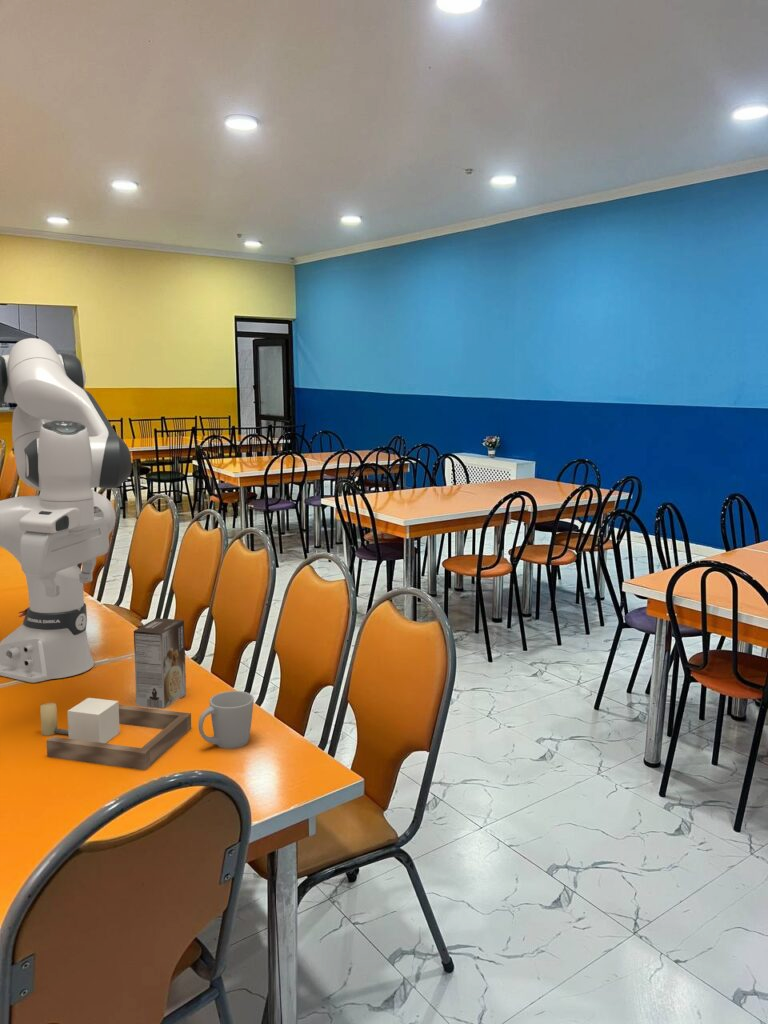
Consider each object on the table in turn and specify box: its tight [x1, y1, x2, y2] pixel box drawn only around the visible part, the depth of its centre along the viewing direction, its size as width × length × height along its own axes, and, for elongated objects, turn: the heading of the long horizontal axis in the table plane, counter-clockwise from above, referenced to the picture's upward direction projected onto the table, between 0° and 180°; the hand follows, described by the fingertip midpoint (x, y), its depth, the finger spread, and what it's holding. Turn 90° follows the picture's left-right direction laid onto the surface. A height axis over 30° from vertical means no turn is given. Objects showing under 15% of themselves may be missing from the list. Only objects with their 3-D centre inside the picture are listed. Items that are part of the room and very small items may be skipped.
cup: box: [198, 690, 255, 750], centre depth 129 cm, size 8×10×8 cm
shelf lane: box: [45, 704, 192, 771], centre depth 129 cm, size 18×16×4 cm
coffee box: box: [133, 617, 187, 710], centre depth 147 cm, size 9×6×16 cm
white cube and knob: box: [39, 697, 121, 744], centre depth 131 cm, size 13×6×6 cm, turn 78°
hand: (69, 589), depth 134 cm, fingers open, 8 cm apart
